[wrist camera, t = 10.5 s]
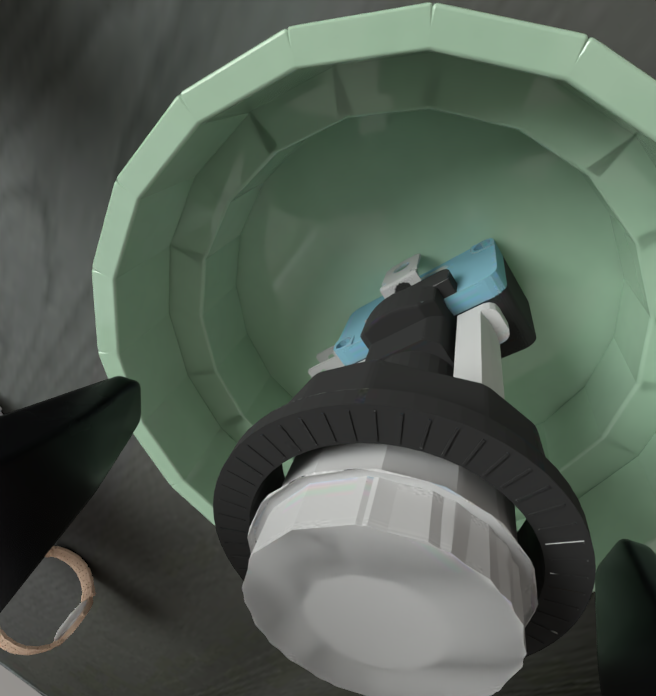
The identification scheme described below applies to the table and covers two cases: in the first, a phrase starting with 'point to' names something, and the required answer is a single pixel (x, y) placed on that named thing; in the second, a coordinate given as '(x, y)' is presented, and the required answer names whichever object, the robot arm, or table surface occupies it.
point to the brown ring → (73, 619)
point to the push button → (409, 498)
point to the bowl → (393, 234)
